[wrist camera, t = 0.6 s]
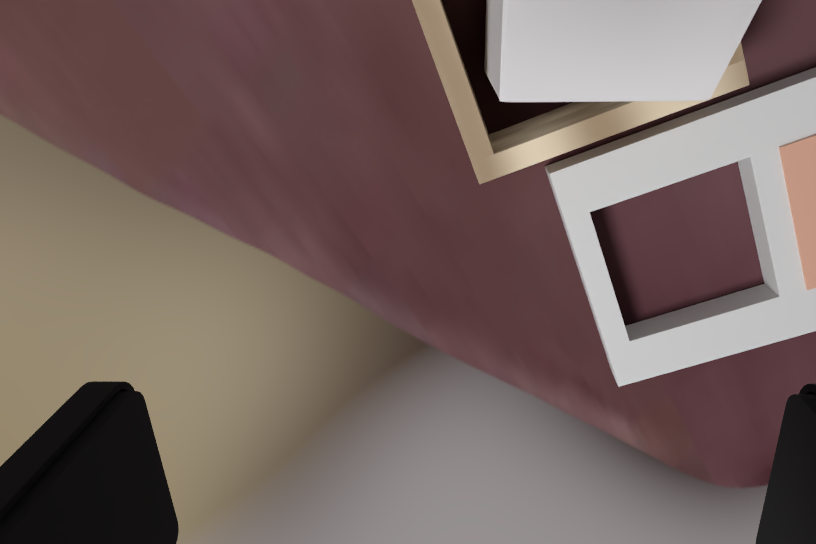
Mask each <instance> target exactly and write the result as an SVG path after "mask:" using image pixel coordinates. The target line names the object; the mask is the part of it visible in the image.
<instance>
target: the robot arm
mask: <svg viewBox="0 0 816 544" xmlns="http://www.w3.org/2000/svg"><path fill="white" fill-rule="evenodd" d="M177 538H178V521H177V517H176V514H175V510H174V506H173V503H172V499H171V495H170V492H169V488H168V484H167V480H166V477H165V473H164V469H163V466H162V462H161V458H160V454H159V451H158V447H157V444H156V440H155V436H154V432H153V429H152V425H151V421H150V417H149V414H148V410H147V406H146V403H145V400H144V397H143V395H142V394H141V393H140V392H138V391H134V388H133V387H132V386H131V385H130V384H129V383H127V382H88V383H86V384H84V385H83V386H82V387H81V388H80V389H79V390H78V391H77V392H76V393H75V394H74V395H73V396H72V397H70V399H68V401H66V402H65V403H64V404H63V405H62V406H61V407H60V408H59V409H58V410H57V411H56V412H55V413H54V414H53V415H52V416H51V417H50V418H49V419H48V420H47V421H46V422H45V423H44V424H43V425H42V426H41V427H40V428H39V429H38V430H37V431H36V432H35V433H34V434H33V435H32V436H31V437H30V438H29V439H28V440H27V441H26V442H25V443H24V444H23V445H22V446H21V447H20V448H19V449H18V450H17V451H16V452H15V453H14V454H13V455H12V456H11V457H10V458H9V459H8V460H7V461H6V462H5V463H4V464H3V465H2V466H1V467H0V544H176V541H177ZM756 544H816V384H807V385H805V386H804V387H803V388H802V389H801V390H800V393H799V394H794V395H791V396H790V397H789V398H788V400H787V403H786V407H785V411H784V416H783V420H782V425H781V429H780V434H779V438H778V443H777V448H776V452H775V457H774V461H773V466H772V470H771V475H770V479H769V484H768V488H767V493H766V497H765V502H764V506H763V511H762V516H761V520H760V524H759V529H758V533H757V538H756Z"/></svg>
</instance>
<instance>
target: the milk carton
mask: <svg viewBox="0 0 816 544" xmlns="http://www.w3.org/2000/svg"><path fill="white" fill-rule="evenodd" d="M761 1H762V0H486V26H485V61H484V71H485V73H486V75H487V77H488V79H489V81H490V82H491V84H492V86H493V88H494V90H495V92H496V94H497V96H498V98H499V101H502V102H629V101H703V100H709V99H710V98H711V97H712V95H713V93H714V91H715V89H716V87H717V85H718V83H719V81H720V79H721V78H722V76H723V74H724V72H725V70H726V68H727V66H728V64H729V62H730V60H731V58H732V57H733V55H734V53H735V51H736V49H737V47H738V45H739V43H740V41H741V39H742V37H743V36H744V34H745V32H746V30H747V28H748V26H749V24H750V22H751V20H752V18H753V16H754V15H755V13H756V11H757V9H758V7H759V5H760V3H761Z"/></svg>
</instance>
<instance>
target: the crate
mask: <svg viewBox="0 0 816 544" xmlns="http://www.w3.org/2000/svg"><path fill="white" fill-rule="evenodd" d="M412 2H413V5H414V7H415V10H416V13H417V15H418V18H419V21H420V24H421V26H422V29H423V32H424V35H425V37H426V40H427V43H428V45H429V48H430V51H431V54H432V56H433V59H434V62H435V65H436V67H437V70H438V73H439V76H440V78H441V81H442V84H443V86H444V89H445V92H446V95H447V97H448V100H449V103H450V106H451V108H452V111H453V114H454V116H455V119H456V122H457V125H458V127H459V130H460V133H461V136H462V138H463V141H464V144H465V146H466V149H467V152H468V155H469V157H470V160H471V163H472V166H473V168H474V171H475V174H476V176H477V179H478V182H479V184H482V183H485V182H487V181H490V180H493V179H496V178H498V177H501V176H504V175H506V174H509V173H512V172H515V171H517V170H520V169H523V168H525V167H528V166H531V165H534V164H536V163H539V162H542V161H544V160H547V159H550V158H553V157H555V156H558V155H561V154H563V153H566V152H569V151H571V150H574V149H577V148H580V147H582V146H585V145H588V144H590V143H593V142H596V141H599V140H601V139H604V138H607V137H609V136H612V135H615V134H618V133H620V132H623V131H626V130H628V129H631V128H634V127H637V126H639V125H642V124H645V123H647V122H650V121H653V120H656V119H658V118H661V117H664V116H666V115H669V114H672V113H675V112H677V111H680V110H683V109H685V108H688V107H691V106H694V105H696V104H699V103H702V102H704V101H707V100H703V101H629V102H573V103H570V104H567V105H565V106H562V107H560V108H557V109H554V110H552V111H549V112H547V113H544V114H541V115H539V116H536V117H534V118H531V119H528V120H526V121H523V122H521V123H518V124H515V125H513V126H510V127H508V128H505V129H502V130H500V131H497V132H495V133H492V134H488V131H487V128H486V125H485V122H484V120H483V117H482V114H481V111H480V108H479V105H478V103H477V100H476V97H475V94H474V91H473V88H472V86H471V83H470V80H469V77H468V74H467V71H466V68H465V66H464V63H463V60H462V57H461V54H460V51H459V49H458V46H457V43H456V40H455V37H454V34H453V31H452V29H451V26H450V23H449V20H448V17H447V14H446V12H445V9H444V6H443V3H442V0H412ZM748 85H750V84H749V79H748V74H747V69H746V65H745V60H744V55H743V50H742V45H741V41H740V43H739V45H738V47H737V49H736V51H735V53H734V55H733V57H732V58H731V60H730V62H729V64H728V66H727V68H726V70H725V72H724V74H723V76H722V78H721V79H720V81H719V83H718V85H717V87H716V89H715V91H714V93H713V95H712V97H711V98H710V99H713V98H715V97H718V96H721V95H723V94H726V93H729V92H732V91H734V90H737V89H740V88H742V87H745V86H748ZM710 99H709V100H710Z"/></svg>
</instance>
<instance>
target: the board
mask: <svg viewBox="0 0 816 544" xmlns="http://www.w3.org/2000/svg"><path fill="white" fill-rule="evenodd" d="M737 161H738V165H739V170H740V174H741V179H742V183H743V188H744V193H745V197H746V202H747V206H748V211H749V215H750V220H751V225H752V229H753V234H754V238H755V243H756V248H757V252H758V257H759V261H760V266H761V271H762V275H763V280H764V284H762V285H759V286H755V287H752V288H749V289H745V290H742V291H739V292H735V293H732V294H729V295H726V296H722V297H719V298H716V299H712V300H709V301H706V302H702V303H699V304H696V305H693V306H689V307H686V308H683V309H679V310H676V311H673V312H669V313H666V314H663V315H660V316H656V317H653V318H650V319H646V320H643V321H640V322H636V323H633V324H630V325H627V326H625V325H624V322H623V318H622V315H621V312H620V309H619V305H618V302H617V299H616V296H615V292H614V289H613V286H612V283H611V279H610V276H609V273H608V270H607V267H606V263H605V260H604V257H603V254H602V250H601V247H600V244H599V241H598V237H597V234H596V231H595V228H594V225H593V221H592V218H591V215H590V212H592V211H595V210H598V209H601V208H604V207H606V206H609V205H612V204H615V203H618V202H621V201H624V200H627V199H630V198H633V197H635V196H638V195H641V194H644V193H647V192H650V191H653V190H656V189H659V188H661V187H664V186H667V185H670V184H673V183H676V182H679V181H682V180H685V179H688V178H690V177H693V176H696V175H699V174H702V173H705V172H708V171H711V170H714V169H716V168H719V167H722V166H725V165H728V164H731V163H734V162H737ZM545 169H546V172H547V175H548V178H549V181H550V184H551V187H552V190H553V193H554V196H555V199H556V202H557V205H558V208H559V212H560V215H561V218H562V221H563V224H564V227H565V230H566V233H567V236H568V239H569V242H570V245H571V248H572V251H573V254H574V257H575V261H576V264H577V267H578V270H579V273H580V276H581V279H582V282H583V285H584V288H585V291H586V294H587V297H588V300H589V303H590V306H591V310H592V313H593V316H594V319H595V322H596V325H597V328H598V331H599V334H600V337H601V340H602V343H603V346H604V349H605V352H606V356H607V359H608V362H609V365H610V368H611V371H612V373H613V375H614V378H615V380H616V382H617V384H618V387H619V386H623V385H627V384H630V383H634V382H637V381H641V380H644V379H648V378H651V377H655V376H658V375H662V374H665V373H669V372H672V371H676V370H679V369H683V368H687V367H690V366H694V365H697V364H701V363H704V362H708V361H711V360H715V359H718V358H722V357H725V356H729V355H732V354H736V353H739V352H743V351H747V350H750V349H754V348H757V347H761V346H764V345H768V344H771V343H775V342H778V341H782V340H785V339H789V338H792V337H796V336H799V335H803V334H807V333H810V332H814V331H816V67H815V68H812V69H809V70H807V71H804V72H801V73H798V74H796V75H793V76H790V77H788V78H785V79H782V80H779V81H777V82H774V83H771V84H768V85H766V86H763V87H760V88H758V89H755V90H752V91H749V92H747V93H744V94H741V95H738V96H736V97H733V98H730V99H727V100H725V101H722V102H719V103H717V104H714V105H711V106H708V107H706V108H703V109H700V110H697V111H695V112H692V113H689V114H687V115H684V116H681V117H678V118H676V119H673V120H670V121H667V122H665V123H662V124H659V125H657V126H654V127H651V128H648V129H646V130H643V131H640V132H637V133H635V134H632V135H629V136H627V137H624V138H621V139H618V140H616V141H613V142H610V143H607V144H605V145H602V146H599V147H597V148H594V149H591V150H588V151H586V152H583V153H580V154H577V155H575V156H572V157H569V158H567V159H564V160H561V161H558V162H556V163H553V164H550V165H547V166H545Z"/></svg>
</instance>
